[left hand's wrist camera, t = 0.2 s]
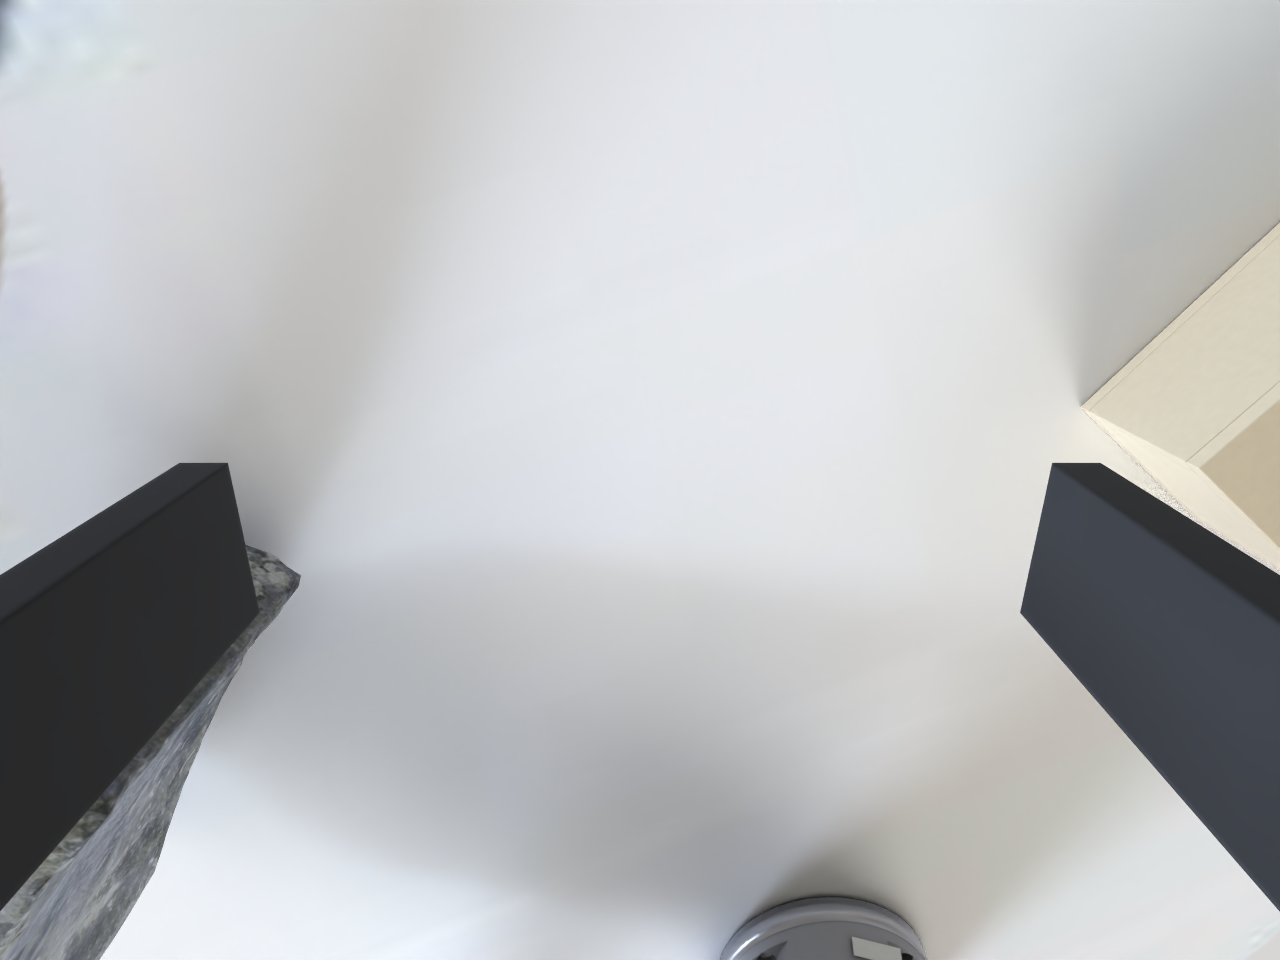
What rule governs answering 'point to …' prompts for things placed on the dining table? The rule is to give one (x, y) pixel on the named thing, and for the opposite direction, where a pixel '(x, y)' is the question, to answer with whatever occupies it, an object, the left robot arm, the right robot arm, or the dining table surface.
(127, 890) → the concrete block
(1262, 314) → the cabinet
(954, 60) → the dining table surface
